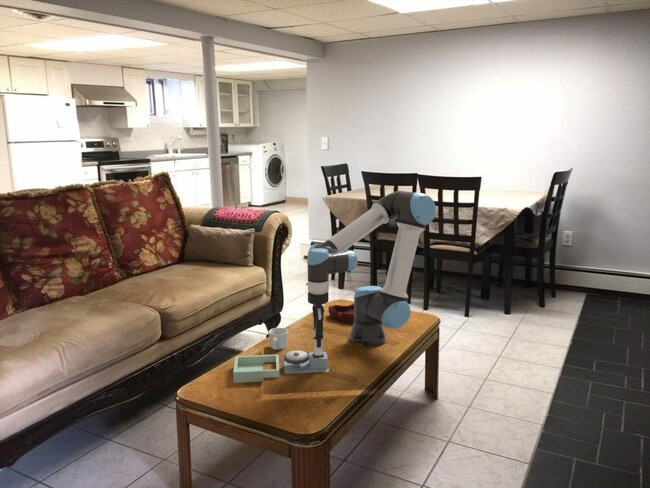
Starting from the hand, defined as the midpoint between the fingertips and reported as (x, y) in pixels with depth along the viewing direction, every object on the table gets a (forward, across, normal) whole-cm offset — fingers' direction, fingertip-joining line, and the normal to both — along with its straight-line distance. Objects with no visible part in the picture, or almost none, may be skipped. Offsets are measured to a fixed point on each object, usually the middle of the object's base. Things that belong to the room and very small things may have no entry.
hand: (318, 352), depth 198 cm
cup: (+7, -19, -14) cm, 25 cm away
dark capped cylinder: (+5, 0, 0) cm, 5 cm away
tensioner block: (+7, 0, -4) cm, 8 cm away
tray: (+7, +1, -22) cm, 23 cm away
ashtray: (+7, -54, +20) cm, 58 cm away
